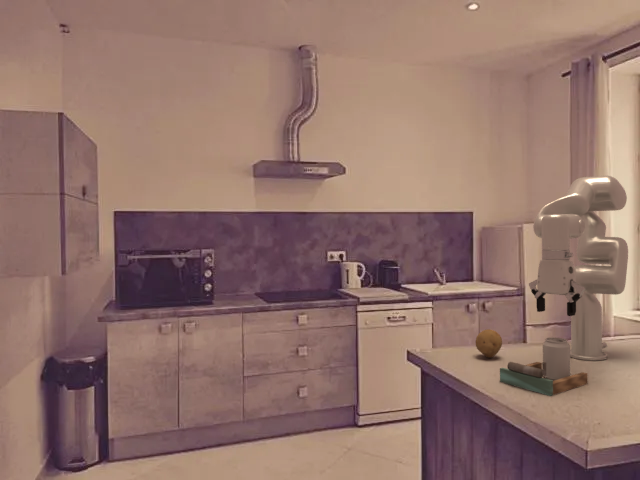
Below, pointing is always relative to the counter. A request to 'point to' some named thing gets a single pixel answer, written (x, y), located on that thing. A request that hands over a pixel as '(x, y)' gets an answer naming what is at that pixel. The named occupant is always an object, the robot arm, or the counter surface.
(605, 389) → the counter surface
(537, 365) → the bay
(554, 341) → the can
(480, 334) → the natural sponge
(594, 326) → the robot arm
